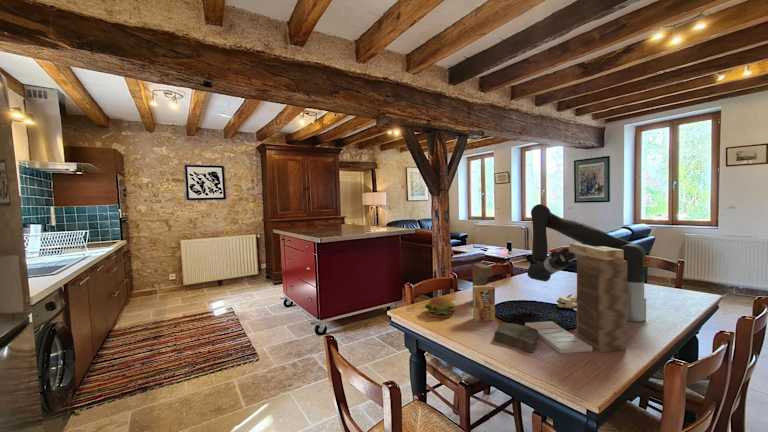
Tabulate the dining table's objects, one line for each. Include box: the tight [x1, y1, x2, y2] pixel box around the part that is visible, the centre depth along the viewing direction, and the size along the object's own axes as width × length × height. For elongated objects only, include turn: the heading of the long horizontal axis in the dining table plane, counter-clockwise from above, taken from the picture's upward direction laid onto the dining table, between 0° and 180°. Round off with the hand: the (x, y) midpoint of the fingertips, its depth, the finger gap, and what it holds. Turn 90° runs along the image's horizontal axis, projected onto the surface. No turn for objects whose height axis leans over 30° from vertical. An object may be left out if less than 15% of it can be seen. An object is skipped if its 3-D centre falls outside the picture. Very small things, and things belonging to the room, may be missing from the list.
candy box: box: [472, 284, 496, 322], centre depth 144 cm, size 9×4×15 cm, turn 92°
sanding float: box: [569, 242, 624, 262], centre depth 121 cm, size 7×21×4 cm, turn 4°
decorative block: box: [472, 263, 493, 287], centre depth 167 cm, size 11×6×20 cm, turn 12°
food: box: [424, 296, 456, 319], centre depth 153 cm, size 14×14×8 cm
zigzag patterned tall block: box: [576, 256, 628, 353], centre depth 117 cm, size 10×12×32 cm
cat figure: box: [556, 293, 577, 309], centre depth 160 cm, size 10×9×25 cm
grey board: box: [524, 320, 593, 354], centre depth 124 cm, size 12×24×2 cm, turn 4°
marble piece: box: [493, 322, 538, 354], centre depth 123 cm, size 17×15×4 cm
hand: (577, 249), depth 129 cm, fingers open, 8 cm apart
